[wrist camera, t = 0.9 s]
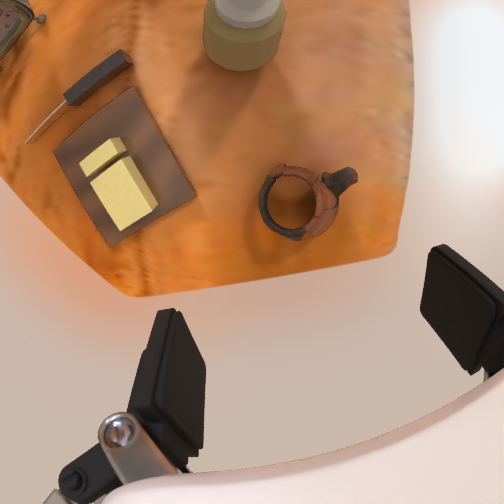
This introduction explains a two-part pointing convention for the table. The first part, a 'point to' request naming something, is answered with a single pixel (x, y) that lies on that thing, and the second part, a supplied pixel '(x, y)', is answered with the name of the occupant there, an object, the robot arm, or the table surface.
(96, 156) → the butter slice
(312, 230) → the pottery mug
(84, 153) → the cutting board
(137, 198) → the butter
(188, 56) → the table surface
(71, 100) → the knife
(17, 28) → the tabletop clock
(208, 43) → the squeeze bottle
